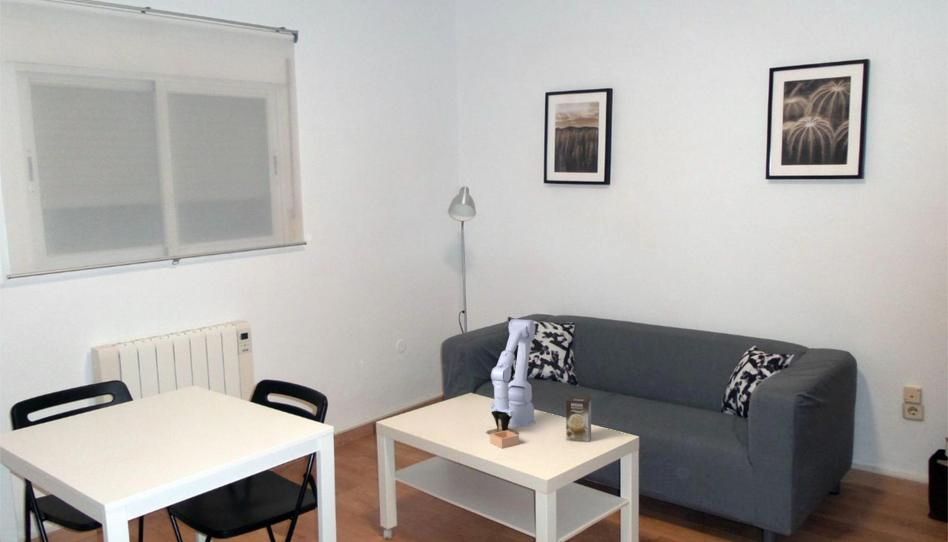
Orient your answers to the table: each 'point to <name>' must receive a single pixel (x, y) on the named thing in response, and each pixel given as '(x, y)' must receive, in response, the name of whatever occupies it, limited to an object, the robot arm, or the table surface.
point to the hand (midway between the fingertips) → (502, 429)
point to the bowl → (504, 439)
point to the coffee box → (578, 419)
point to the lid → (500, 429)
